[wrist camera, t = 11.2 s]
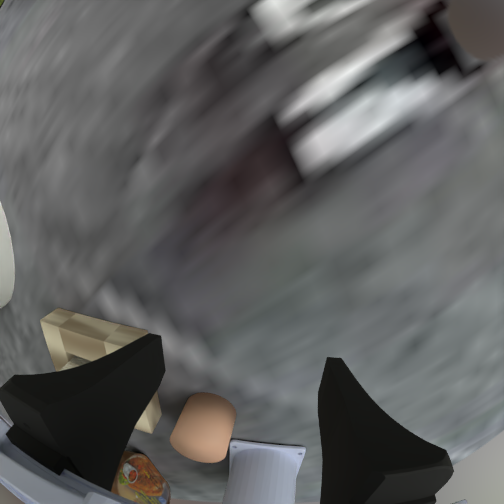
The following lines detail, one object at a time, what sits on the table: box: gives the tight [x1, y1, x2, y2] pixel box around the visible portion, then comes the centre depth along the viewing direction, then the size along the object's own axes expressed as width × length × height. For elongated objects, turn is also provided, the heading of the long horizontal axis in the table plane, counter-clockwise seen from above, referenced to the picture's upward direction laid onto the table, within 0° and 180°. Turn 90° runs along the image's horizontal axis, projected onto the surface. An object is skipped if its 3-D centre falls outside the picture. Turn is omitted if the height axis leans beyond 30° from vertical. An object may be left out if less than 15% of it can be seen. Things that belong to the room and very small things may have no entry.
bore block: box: [40, 308, 162, 434], centre depth 24 cm, size 11×11×3 cm
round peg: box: [170, 393, 236, 463], centre depth 23 cm, size 5×5×5 cm
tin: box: [111, 451, 170, 504], centre depth 27 cm, size 15×3×8 cm, turn 9°
